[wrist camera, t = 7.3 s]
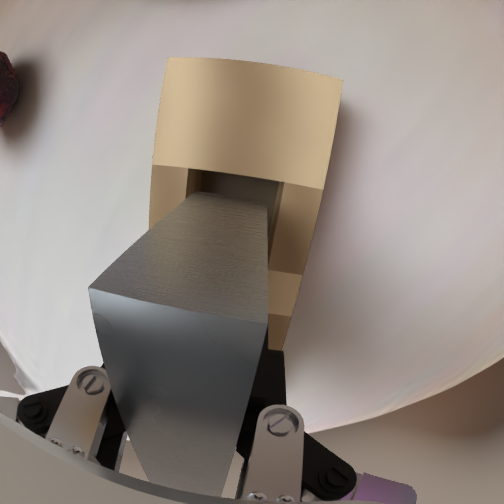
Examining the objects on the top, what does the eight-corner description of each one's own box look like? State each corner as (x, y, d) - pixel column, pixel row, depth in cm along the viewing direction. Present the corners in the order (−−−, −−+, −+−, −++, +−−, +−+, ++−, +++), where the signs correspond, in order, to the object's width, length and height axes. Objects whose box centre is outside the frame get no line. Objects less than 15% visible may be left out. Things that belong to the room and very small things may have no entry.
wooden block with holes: (325, 92, 14) (343, 79, 10) (262, 376, 23) (260, 413, 19) (189, 73, 14) (167, 57, 10) (170, 361, 22) (158, 395, 19)
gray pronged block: (195, 191, 11) (88, 287, 4) (266, 201, 11) (267, 323, 4) (185, 363, 15) (150, 482, 8) (236, 371, 15) (220, 497, 8)
